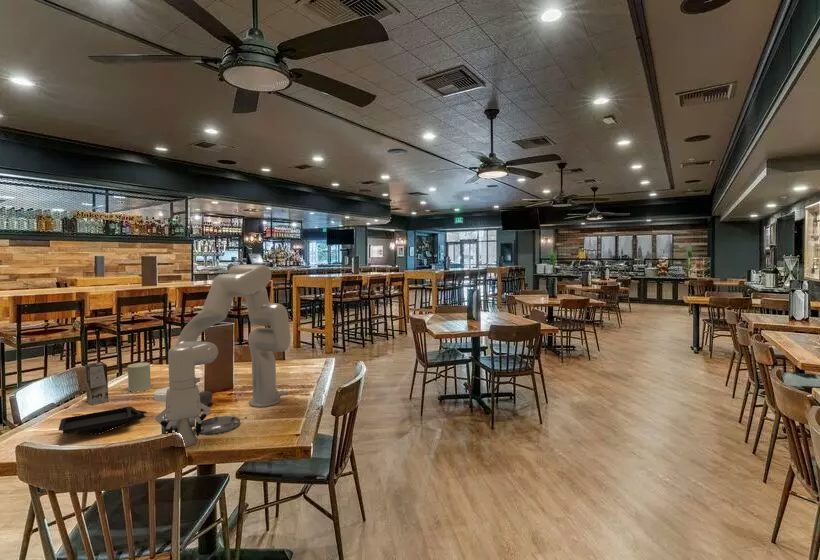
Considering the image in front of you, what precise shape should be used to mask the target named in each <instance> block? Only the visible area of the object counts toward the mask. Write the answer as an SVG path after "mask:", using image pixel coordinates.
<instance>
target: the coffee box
mask: <svg viewBox="0 0 820 560" xmlns="http://www.w3.org/2000/svg"><path fill="white" fill-rule="evenodd" d="M84 375H85V389H86V402H88V403H89V404H90V405H91V406H94V405H98V403H99V404H103V403H102V402H104V403H107V401H108V402H109V382H108V380H109V379H108V365H107V364H106V363H104V362H103V361H99V362H93V363H87V364H84Z"/></svg>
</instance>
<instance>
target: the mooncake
mask: <svg viewBox="0 0 820 560" xmlns="http://www.w3.org/2000/svg"><path fill="white" fill-rule="evenodd" d="M169 388H170V386H166V387H163V388H159V389H156V390H155V391H154V392H153V400H154V401H155V402H166V393H167V389H169Z"/></svg>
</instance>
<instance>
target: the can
mask: <svg viewBox="0 0 820 560" xmlns="http://www.w3.org/2000/svg"><path fill="white" fill-rule="evenodd" d="M126 368H127V379H128V392H130V391H131V392H130V393H137V391H139V392H144V390H145V391H147V390H150V389H151V388H152V382H151V381H152V380H151V363H150V362H136V363H132V364H129V365H127V366H126Z"/></svg>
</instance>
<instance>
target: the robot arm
mask: <svg viewBox="0 0 820 560" xmlns="http://www.w3.org/2000/svg"><path fill="white" fill-rule="evenodd" d="M271 279H272V272H271V269H270V268H269V267H268V266H267V265H265V264H236V265H235V264H234V265H232V266H231V267H229V269H228V273H222V274H218V275H216V276H215V277H214V279H213V282H212V284H211V285H210V286H211V287H210V289H209V291H208V294H207V296H206V299H205V301H204V304H203V307H202V309H201V310H200V312H198V313H197V314H196V315H195V316H194V317H193V318H192V319H190V320H189V322H188V323H186V324H185V326H184V327H183V328H182V330H181V332H180V334H179V337H178V339H177V342H176V344H175V346H172V347H170V349H168V352H167V356H168V357H167V361H168V382H169V383H168V384H169V385H168V387H170V388H169V389H167V393H166V401H165V408H164V409H163V410H162V411H161V412H160V413H159V414H158V415H156V416H155V421H156V422H157V423H159V424H160V425H162V426H164V427H165V428H166V429H167V432H166V435H167V434H168V433H172V434H173V431H172V426H171V425H172V424H173V422H174V421H175V420H181V419H187V418H192V417H194V418H195V426H196V432H195V435H196V437H199V436H200V434H199V432H201V423H202V421H204V420H206V418H207V416H208V414H210V412H211V410H212V409H211V408H210V407H209V406H206V405H204V404H202V403H200V394H199V392H200V389H199V386H198V383H200V382H201V378H200V377H196V370H195V369H196V366H200V365H201V366H202V365H207V364H210V363H213V362H214V361H215V360H216V359H217V357H218V355H219V348H218V346H217V345H216V344H215V343H214V342H208V341H201V340H200V341H199V340H198V338H199V337H200V335H201V334H202V333H203V332H204V331H205V330H207V329H208V328H209V327H212V326H215V325H216V324H218V323H220V322H222V321H225V320H226V318H227V317H228V314H229V311H230V309H231V306H232V302H233V300H234V298H235V297H237V298H244V297H245V300H246V307H247V314H248V319H249V322H250V323H251V325H254V326H259V327H257V328H254V329H253V330H251V331H250V333H249V334H248V337H247V338H248V339H247V342H248V346H249V351H250V356H251V358H250V359H251V378H252V379H251V380H252V383H251V384H252V398H251V399H249V401H248V404H249V405H250V406H251V407H254V408H264V407H265V408H266V407H270V406H275V405H277V404H279V403H280V402H281V397H282V396H283V397H284V396H289V391H288V390H283V389H282V390H278V389H277V369H276V368H277V367H276V365H277V362H276V357H275V355H274V352H277V353H278V352H280V353H281V352H282V353H283V352H285V351H287V350H288V349H289V348H290V346H291V341H292V340H291V339H292V337H291V336H292V335H291V327H290V321H289V320H290V319H289V313H288V309H287V308H286V306H284V305H283V304H282V303H277V302H276V303H275V302H270V300H269V296H268V290H267V288H266V286H268V284H269V283H270V282H271ZM201 409H202V410H203V411H204V412H203V413H202V410H201ZM201 413H202V414H201ZM164 415H165V417H166V418H167V420H168V422H166V421H165V420H163V419H162V417H163V416H164Z"/></svg>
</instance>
